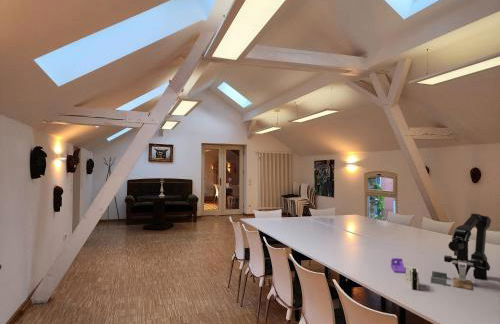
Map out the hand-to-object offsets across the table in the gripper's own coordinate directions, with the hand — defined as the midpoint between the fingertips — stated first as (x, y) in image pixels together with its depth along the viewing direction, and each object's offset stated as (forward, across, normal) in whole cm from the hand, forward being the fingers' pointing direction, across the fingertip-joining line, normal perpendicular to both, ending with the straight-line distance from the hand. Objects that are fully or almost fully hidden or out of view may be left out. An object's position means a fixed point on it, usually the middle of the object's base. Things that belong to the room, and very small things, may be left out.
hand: (462, 275), depth 193 cm
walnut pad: (+5, 0, 0) cm, 5 cm away
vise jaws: (+5, +12, 0) cm, 13 cm away
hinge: (+6, +25, +20) cm, 33 cm away
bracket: (+6, +36, -7) cm, 37 cm away
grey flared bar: (+2, 0, 0) cm, 2 cm away
